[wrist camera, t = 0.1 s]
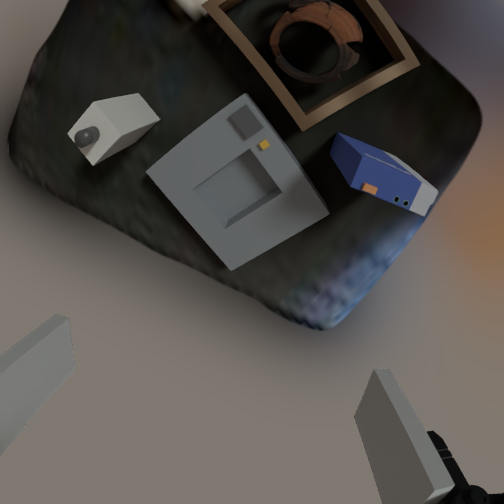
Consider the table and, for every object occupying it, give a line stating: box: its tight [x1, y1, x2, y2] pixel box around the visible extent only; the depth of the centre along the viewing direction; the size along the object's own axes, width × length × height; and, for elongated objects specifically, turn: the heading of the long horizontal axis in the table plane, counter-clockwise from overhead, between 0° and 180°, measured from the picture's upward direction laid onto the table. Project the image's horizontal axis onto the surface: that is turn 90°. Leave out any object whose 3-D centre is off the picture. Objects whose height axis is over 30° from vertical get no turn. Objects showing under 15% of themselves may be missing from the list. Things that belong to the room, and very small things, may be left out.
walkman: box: [329, 132, 438, 216], centre depth 28 cm, size 8×3×12 cm, turn 74°
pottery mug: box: [270, 0, 363, 83], centre depth 24 cm, size 12×10×8 cm
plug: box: [68, 93, 160, 166], centre depth 28 cm, size 4×4×12 cm
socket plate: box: [146, 93, 329, 271], centre depth 35 cm, size 14×16×4 cm
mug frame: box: [201, 0, 420, 132], centre depth 25 cm, size 15×17×4 cm
